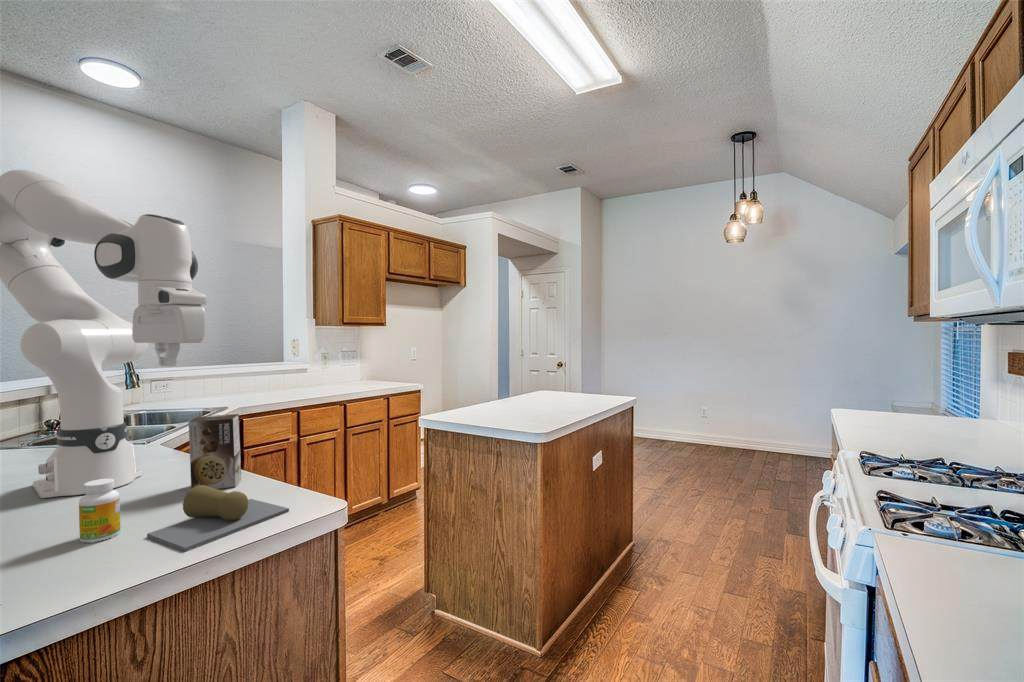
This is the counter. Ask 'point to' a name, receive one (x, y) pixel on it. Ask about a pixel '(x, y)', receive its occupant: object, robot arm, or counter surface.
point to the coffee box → (215, 451)
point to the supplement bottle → (99, 511)
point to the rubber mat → (214, 526)
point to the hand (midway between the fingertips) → (167, 366)
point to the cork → (215, 503)
